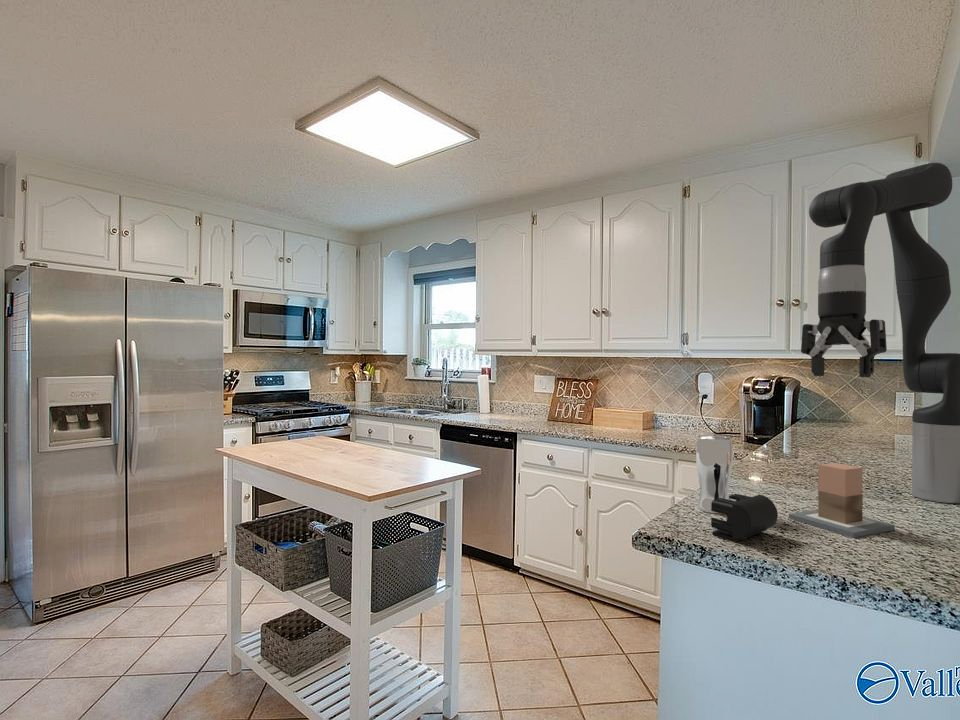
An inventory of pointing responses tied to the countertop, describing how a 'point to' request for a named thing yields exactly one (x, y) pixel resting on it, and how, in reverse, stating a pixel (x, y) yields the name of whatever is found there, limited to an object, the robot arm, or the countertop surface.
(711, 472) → the beer glass
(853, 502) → the walnut block
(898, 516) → the countertop surface
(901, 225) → the robot arm
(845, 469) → the terracotta block
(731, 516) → the end cap
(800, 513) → the plate
